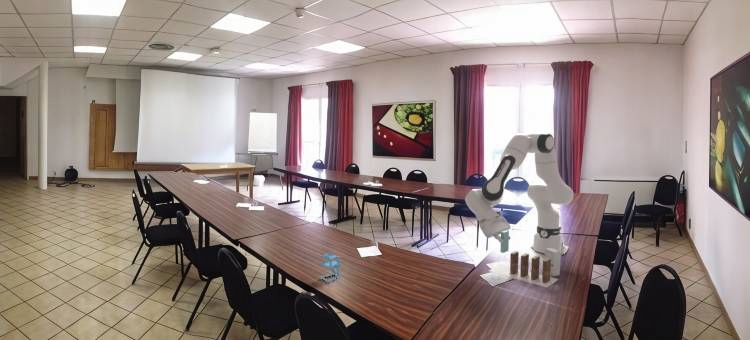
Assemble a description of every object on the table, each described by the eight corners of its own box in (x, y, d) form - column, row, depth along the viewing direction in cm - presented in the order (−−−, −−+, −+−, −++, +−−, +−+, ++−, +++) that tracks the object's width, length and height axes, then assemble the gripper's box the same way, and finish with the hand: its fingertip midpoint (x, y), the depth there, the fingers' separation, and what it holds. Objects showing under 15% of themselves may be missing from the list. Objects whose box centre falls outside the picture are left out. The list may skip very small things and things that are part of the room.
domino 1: (500, 252, 179) (500, 231, 178) (505, 250, 182) (505, 230, 181) (503, 252, 178) (504, 232, 177) (508, 250, 181) (508, 230, 180)
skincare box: (543, 272, 178) (544, 248, 177) (550, 271, 180) (551, 247, 179) (552, 277, 173) (553, 252, 172) (560, 276, 174) (561, 251, 173)
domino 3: (520, 276, 172) (520, 255, 172) (525, 273, 176) (525, 253, 175) (523, 277, 171) (524, 256, 170) (528, 274, 175) (528, 254, 174)
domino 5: (542, 282, 165) (542, 260, 164) (546, 279, 169) (547, 258, 168) (545, 283, 164) (546, 261, 163) (550, 280, 168) (550, 258, 167)
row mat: (501, 265, 189) (501, 264, 189) (558, 280, 169) (558, 279, 169) (488, 272, 180) (488, 270, 180) (547, 288, 160) (547, 287, 160)
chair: (343, 278, 174) (343, 253, 173) (330, 283, 168) (329, 257, 167) (332, 274, 179) (332, 249, 178) (319, 278, 173) (319, 253, 172)
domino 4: (530, 279, 169) (531, 258, 168) (535, 276, 172) (536, 255, 171) (534, 280, 168) (535, 258, 167) (539, 277, 171) (539, 256, 170)
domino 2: (510, 273, 176) (510, 253, 175) (514, 271, 180) (515, 250, 179) (513, 274, 175) (513, 254, 174) (518, 271, 178) (518, 251, 177)
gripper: (481, 217, 176) (500, 241, 170) (502, 211, 190) (520, 233, 184) (472, 225, 180) (490, 248, 174) (493, 218, 194) (511, 240, 188)
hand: (506, 240), depth 179 cm, fingers closed on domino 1, 5 cm apart
